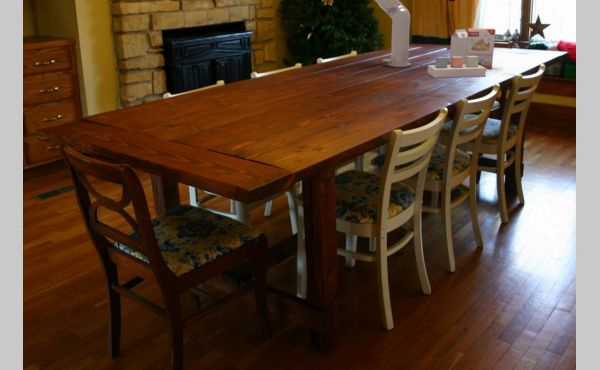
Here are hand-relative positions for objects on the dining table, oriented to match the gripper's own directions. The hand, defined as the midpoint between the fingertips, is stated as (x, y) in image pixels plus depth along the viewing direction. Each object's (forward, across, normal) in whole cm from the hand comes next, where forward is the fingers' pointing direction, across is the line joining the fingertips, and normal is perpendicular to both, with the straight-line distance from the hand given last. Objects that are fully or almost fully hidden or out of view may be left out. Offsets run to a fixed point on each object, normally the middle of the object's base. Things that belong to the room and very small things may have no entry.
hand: (449, 0), depth 337 cm
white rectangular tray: (+35, +30, -5) cm, 46 cm away
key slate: (+31, +29, -13) cm, 44 cm away
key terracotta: (+31, +30, -5) cm, 43 cm away
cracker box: (+35, +12, +14) cm, 40 cm away
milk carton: (+35, -4, +9) cm, 36 cm away
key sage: (+31, +30, +3) cm, 43 cm away
